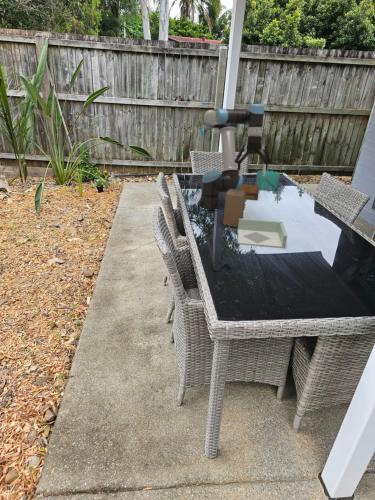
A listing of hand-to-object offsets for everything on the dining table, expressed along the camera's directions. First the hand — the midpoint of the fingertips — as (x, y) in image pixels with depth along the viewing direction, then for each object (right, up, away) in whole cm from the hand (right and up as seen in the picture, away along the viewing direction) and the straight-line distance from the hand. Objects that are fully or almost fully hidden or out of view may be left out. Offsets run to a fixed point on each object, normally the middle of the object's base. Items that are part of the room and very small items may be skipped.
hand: (251, 176), depth 181 cm
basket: (+29, +10, +87) cm, 93 cm away
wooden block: (-9, -26, +14) cm, 30 cm away
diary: (+8, +1, +68) cm, 68 cm away
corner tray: (+4, -35, -4) cm, 35 cm away
